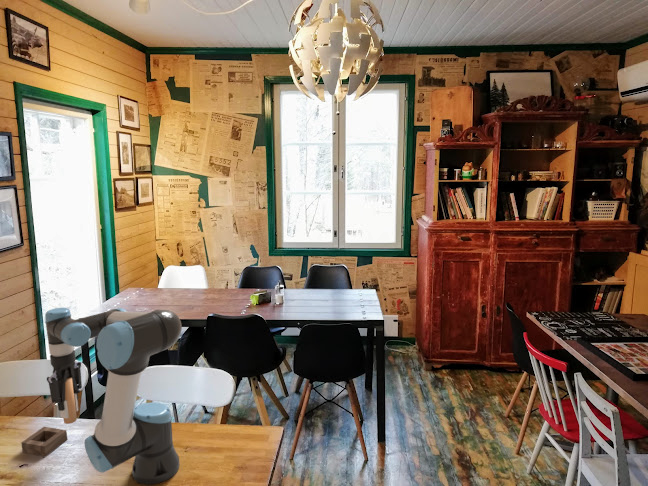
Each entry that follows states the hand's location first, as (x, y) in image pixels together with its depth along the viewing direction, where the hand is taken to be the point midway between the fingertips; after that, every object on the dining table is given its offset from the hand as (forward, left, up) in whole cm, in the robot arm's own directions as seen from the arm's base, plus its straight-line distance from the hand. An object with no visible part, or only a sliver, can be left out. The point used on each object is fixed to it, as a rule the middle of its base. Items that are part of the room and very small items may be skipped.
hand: (69, 413), depth 162 cm
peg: (0, 0, -3) cm, 3 cm away
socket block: (+12, 0, -15) cm, 19 cm away
